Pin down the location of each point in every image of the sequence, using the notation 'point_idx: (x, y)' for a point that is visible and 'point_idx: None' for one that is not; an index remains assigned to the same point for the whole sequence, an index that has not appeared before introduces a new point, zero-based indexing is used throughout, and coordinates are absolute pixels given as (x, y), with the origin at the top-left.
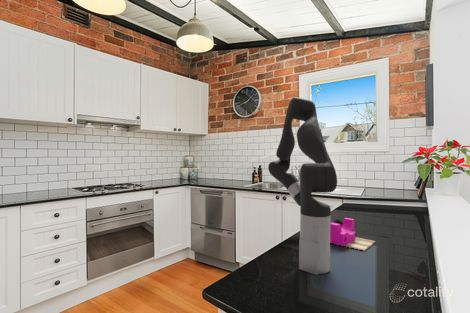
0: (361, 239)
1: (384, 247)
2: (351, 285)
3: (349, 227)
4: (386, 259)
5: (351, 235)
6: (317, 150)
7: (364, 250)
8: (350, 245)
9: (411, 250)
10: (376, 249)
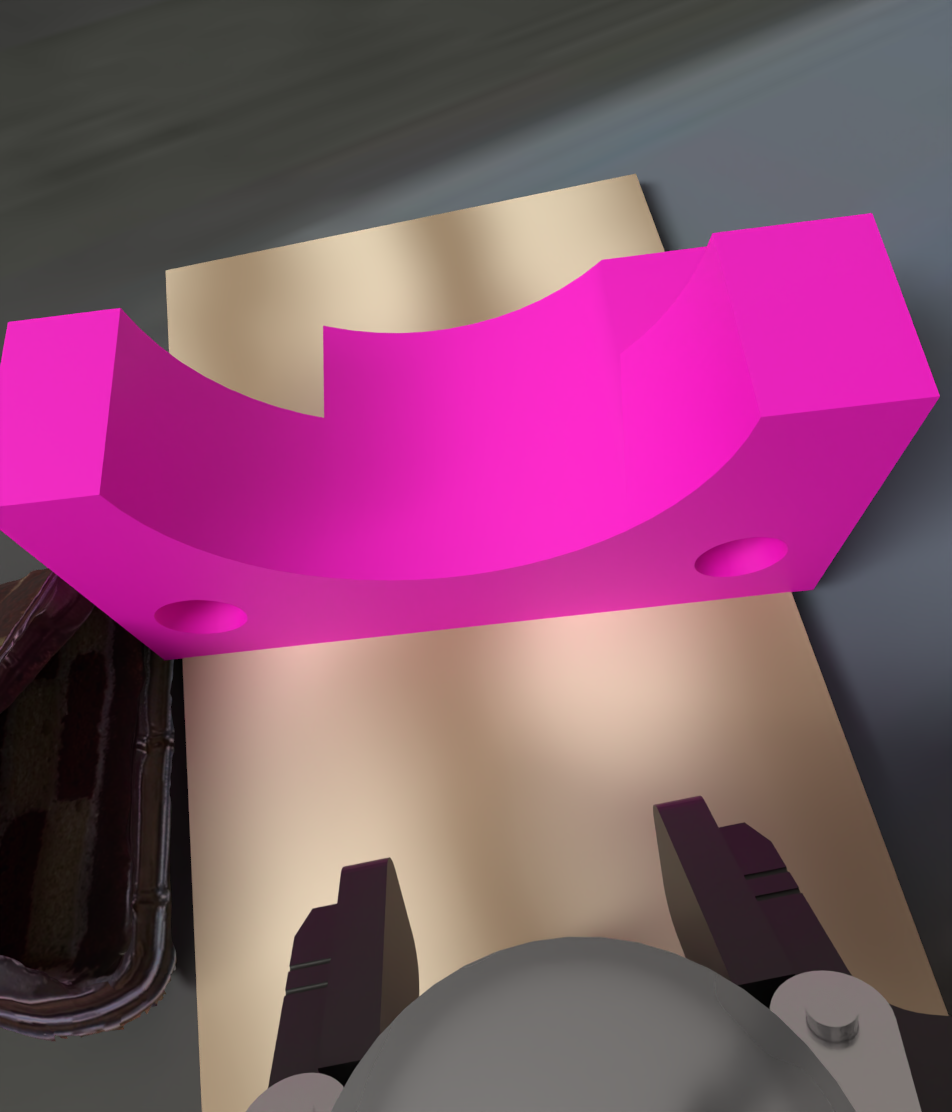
0: (234, 390)
1: (270, 168)
2: None
3: (253, 417)
4: (633, 14)
5: (471, 330)
6: None
7: (618, 185)
8: None
9: (153, 26)
10: (419, 174)
